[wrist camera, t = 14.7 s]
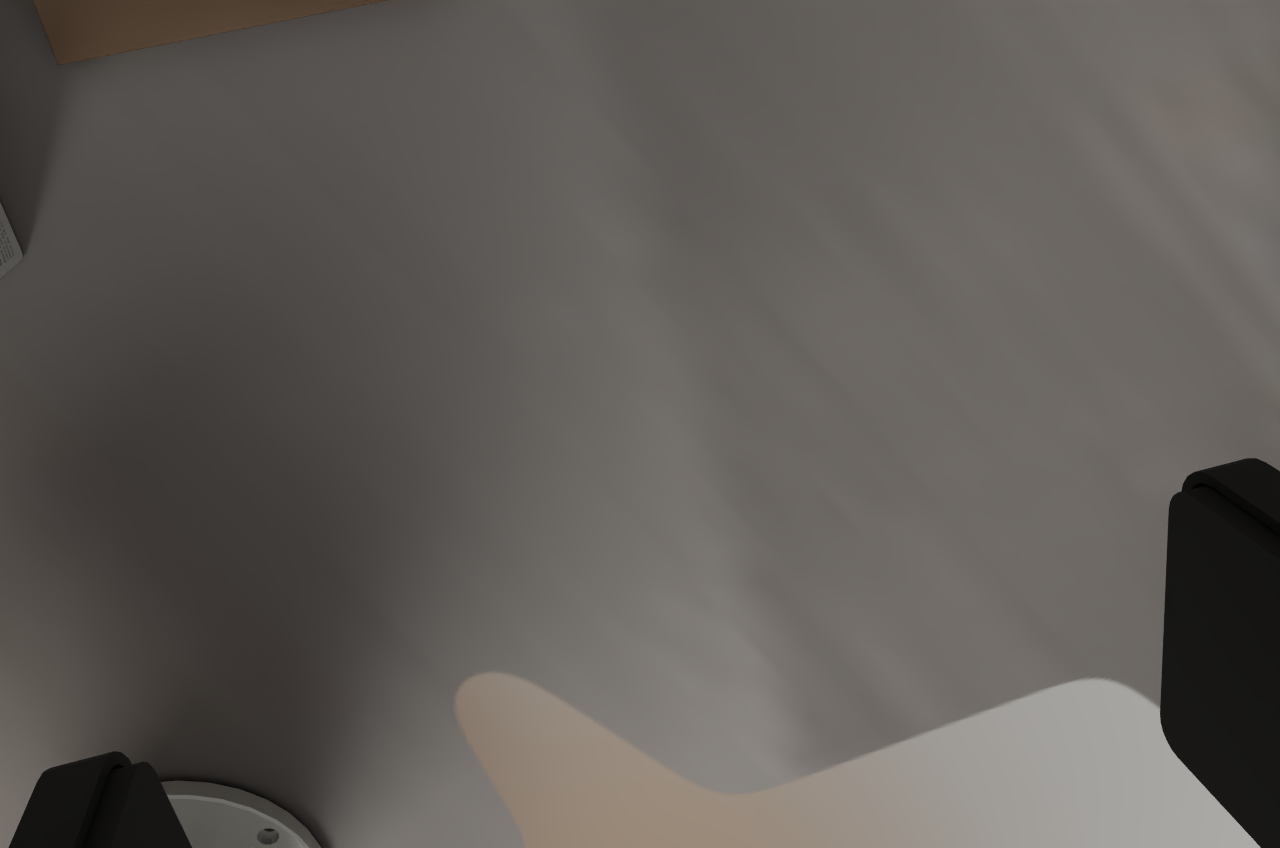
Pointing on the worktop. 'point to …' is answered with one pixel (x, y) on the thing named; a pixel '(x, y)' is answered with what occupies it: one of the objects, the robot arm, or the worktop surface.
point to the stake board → (160, 21)
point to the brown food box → (8, 246)
